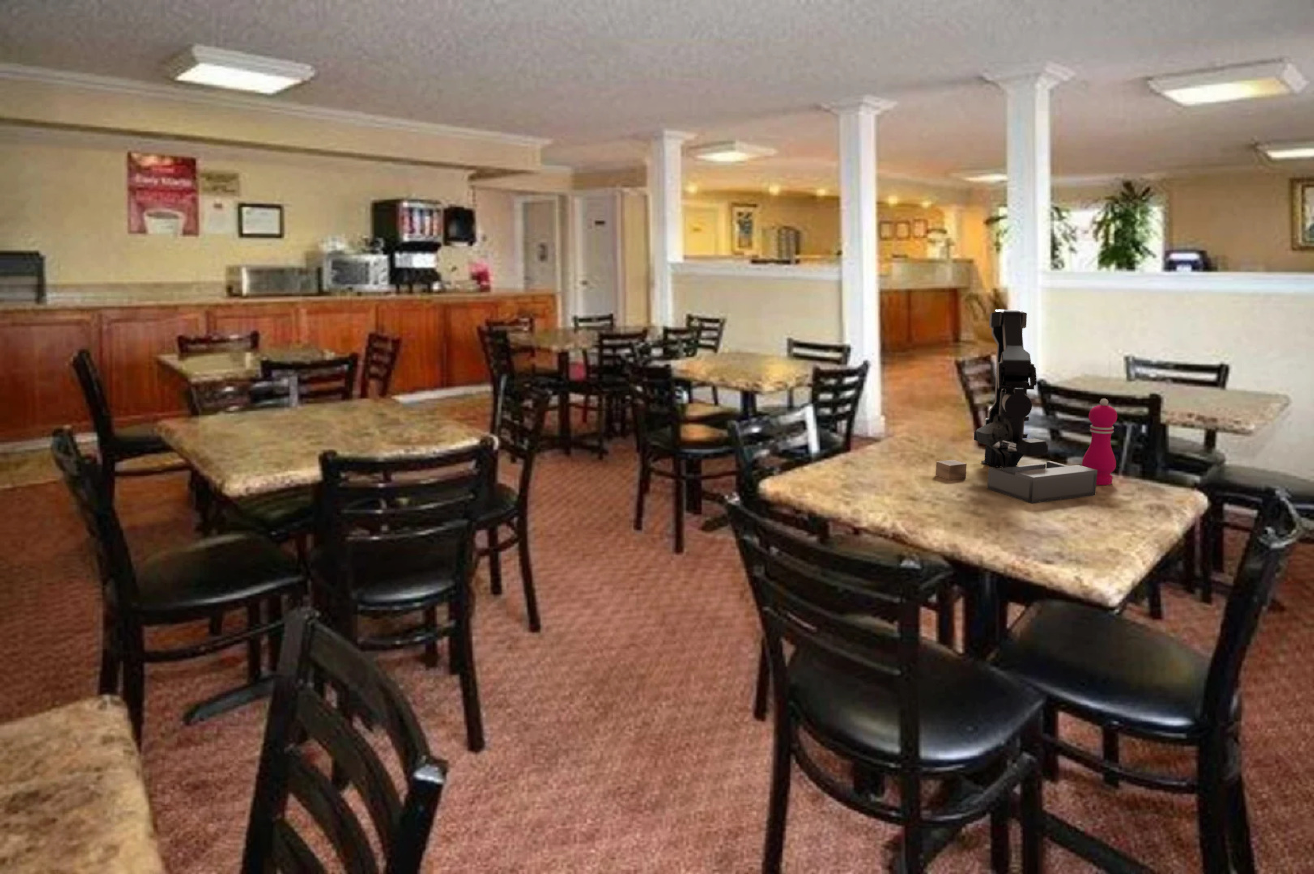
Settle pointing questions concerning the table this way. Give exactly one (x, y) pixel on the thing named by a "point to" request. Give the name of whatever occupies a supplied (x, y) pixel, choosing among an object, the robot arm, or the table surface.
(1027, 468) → the tray
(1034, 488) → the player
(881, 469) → the table surface
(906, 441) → the table surface
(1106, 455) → the pepper mill
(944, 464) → the block
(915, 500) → the table surface
